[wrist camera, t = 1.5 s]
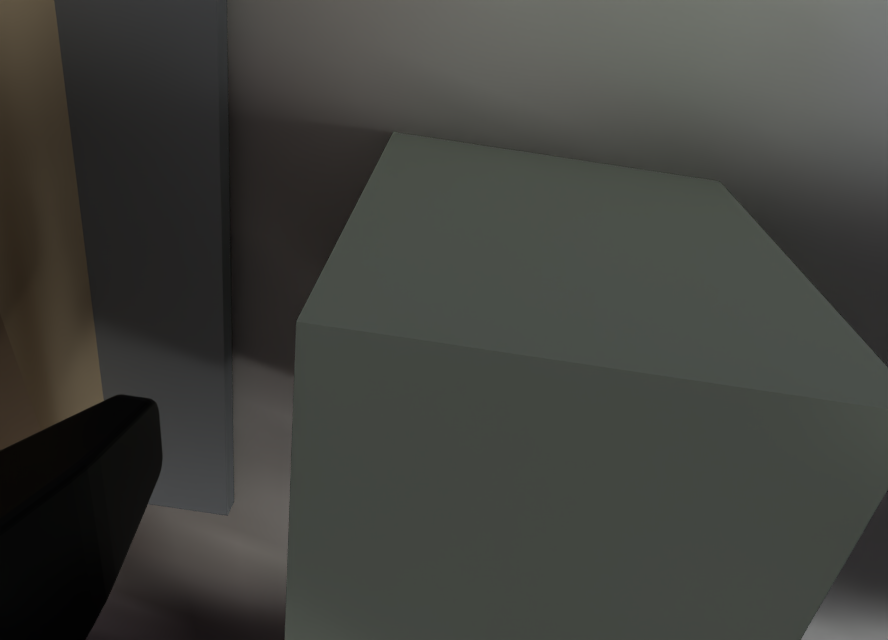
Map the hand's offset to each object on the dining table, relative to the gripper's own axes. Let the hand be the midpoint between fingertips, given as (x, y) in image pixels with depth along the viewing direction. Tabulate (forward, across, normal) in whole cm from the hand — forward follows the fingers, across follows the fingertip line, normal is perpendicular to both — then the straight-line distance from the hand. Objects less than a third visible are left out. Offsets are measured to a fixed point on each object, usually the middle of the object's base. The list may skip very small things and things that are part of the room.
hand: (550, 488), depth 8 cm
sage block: (+5, 0, 0) cm, 5 cm away
